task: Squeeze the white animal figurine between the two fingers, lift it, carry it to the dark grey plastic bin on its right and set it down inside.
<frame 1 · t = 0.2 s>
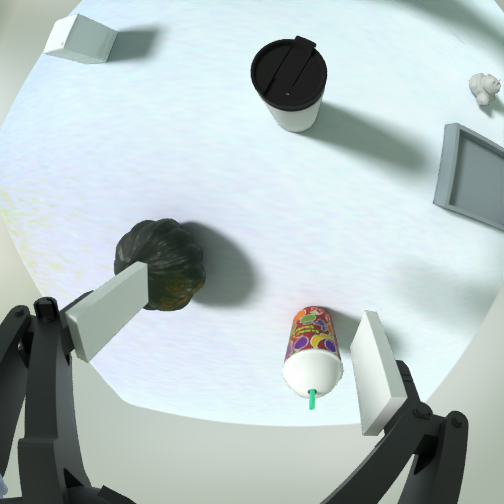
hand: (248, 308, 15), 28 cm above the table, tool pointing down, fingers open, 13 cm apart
bin: (481, 180, 32), on the table
supplement box: (101, 48, 36), on the table
travel mug: (295, 111, 36), on the table
squash: (174, 253, 47), on the table
white animal figurine: (475, 91, 27), on the table
smoothie: (312, 319, 46), on the table
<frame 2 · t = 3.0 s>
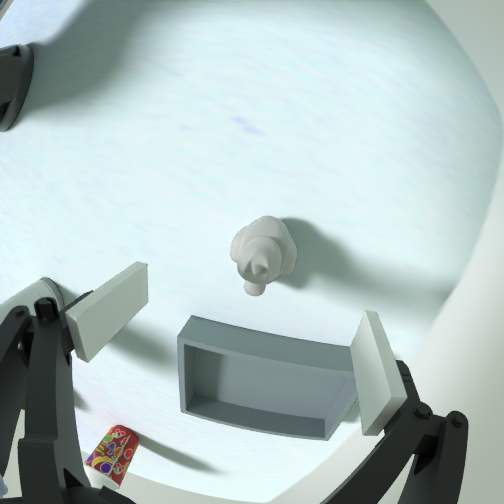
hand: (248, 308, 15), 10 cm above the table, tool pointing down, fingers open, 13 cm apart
bin: (268, 377, 30), on the table
travel mug: (52, 293, 33), on the table
white animal figurine: (266, 246, 25), on the table
smoothie: (127, 432, 44), on the table
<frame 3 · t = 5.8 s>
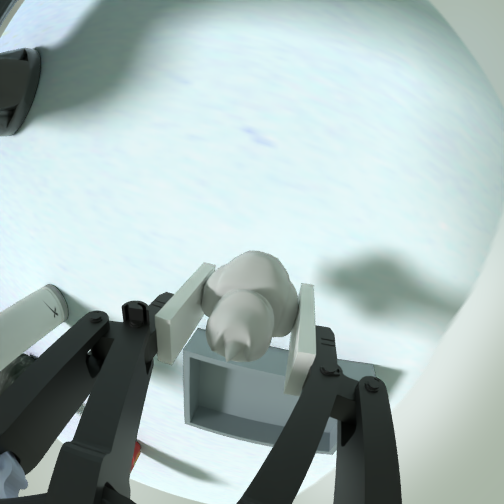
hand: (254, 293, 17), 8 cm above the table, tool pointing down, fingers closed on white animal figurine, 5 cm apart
bin: (274, 391, 29), on the table
travel mug: (57, 301, 33), on the table
squash: (40, 371, 44), on the table
white animal figurine: (255, 288, 18), point 7 cm above the table, touching gripper
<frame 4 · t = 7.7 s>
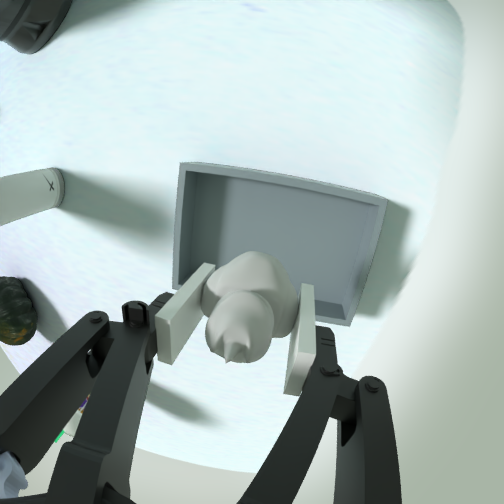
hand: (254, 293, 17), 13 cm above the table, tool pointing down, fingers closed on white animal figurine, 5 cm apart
bin: (274, 236, 29), on the table
travel mug: (54, 186, 33), on the table
squash: (25, 299, 44), on the table
white animal figurine: (255, 288, 18), point 12 cm above the table, touching gripper
smoothie: (112, 369, 43), on the table
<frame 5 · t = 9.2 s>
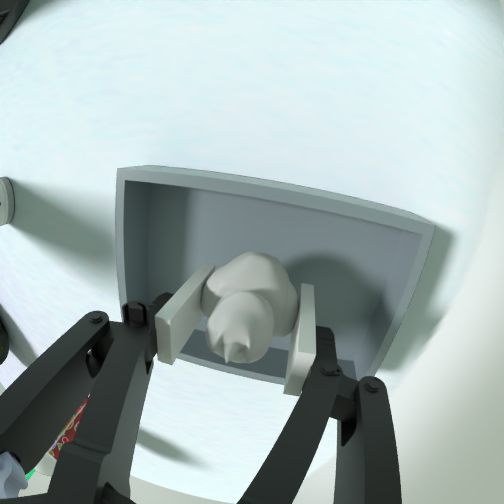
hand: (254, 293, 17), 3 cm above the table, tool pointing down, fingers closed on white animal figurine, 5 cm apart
bin: (261, 273, 20), on the table
travel mug: (6, 198, 23), on the table
white animal figurine: (255, 288, 18), point 3 cm above the table, touching gripper
smoothie: (85, 402, 34), on the table
when the fingers open (2 cm above the table, at t = 10.2 s): white animal figurine drops 1 cm, resting on bin.
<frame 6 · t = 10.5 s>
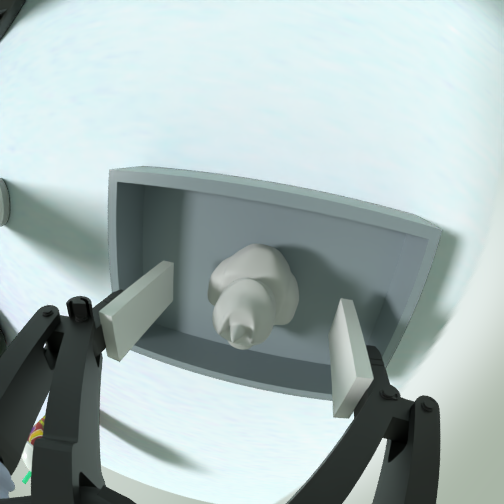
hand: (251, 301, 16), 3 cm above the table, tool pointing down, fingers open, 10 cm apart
bin: (260, 278, 19), on the table
travel mug: (2, 200, 23), on the table
white animal figurine: (258, 280, 19), resting on bin
smoothie: (83, 405, 33), on the table
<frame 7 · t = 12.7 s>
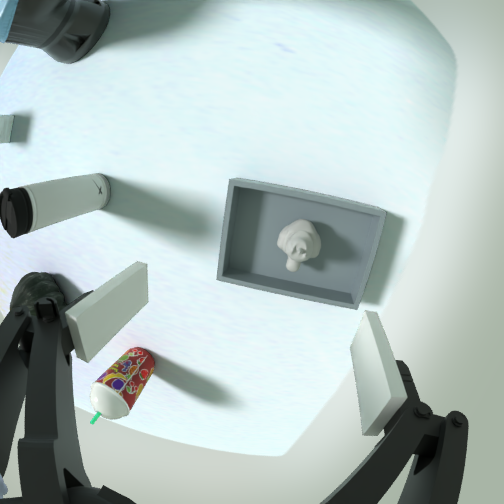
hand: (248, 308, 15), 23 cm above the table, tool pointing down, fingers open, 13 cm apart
bin: (299, 239, 37), on the table
supplement box: (7, 128, 41), on the table
travel mug: (99, 190, 41), on the table
squash: (55, 294, 51), on the table
white animal figurine: (299, 239, 36), resting on bin
smoothie: (143, 357, 50), on the table
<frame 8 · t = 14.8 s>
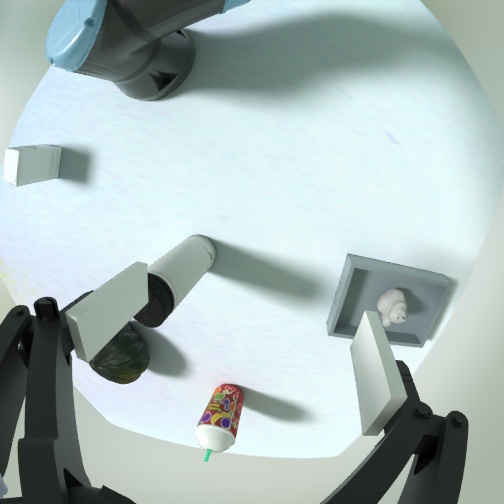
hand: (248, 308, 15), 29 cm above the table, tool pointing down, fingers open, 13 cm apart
bin: (387, 299, 43), on the table
supplement box: (52, 160, 47), on the table
travel mug: (200, 250, 47), on the table
squash: (129, 338, 58), on the table
white animal figurine: (388, 300, 43), resting on bin
smoothie: (230, 390, 57), on the table
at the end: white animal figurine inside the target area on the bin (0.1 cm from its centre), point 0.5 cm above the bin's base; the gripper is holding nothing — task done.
